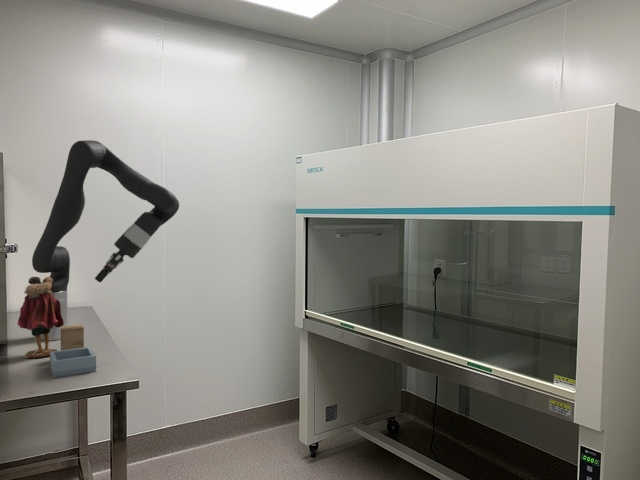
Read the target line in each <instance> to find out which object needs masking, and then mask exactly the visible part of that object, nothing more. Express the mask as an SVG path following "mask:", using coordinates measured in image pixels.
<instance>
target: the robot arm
mask: <svg viewBox="0 0 640 480" xmlns="http://www.w3.org/2000/svg"><path fill="white" fill-rule="evenodd" d="M96 168H98V169H101V170H104V171H105V172H107V173H109V174H110V175H112V176H113V177H114V178H115V179H116V180H117V181H118V182H119V184H120V185H121V186H122V187H123V188H124V189H125V190H126V191H128V192H130V193H131V194H133V195H134V196H136V197H137V198H138V199H140V200H143V201H146V202H148V203H150V204H151V205H152V206H154V207H153V208H152V209H151V210H149V211H144V212H143V213H141V215H139V217H137V219H136V220H135V221H134V222H133V223H132V224H131V225H130V226H129V227H128V228H126V230H125V231H124V232H123V233H122V234H121V235H120V237H118V239H117V240H116V241H115V242H114V244H113V246H115V247H116V248H117V249H118V250H117V251H115V252H113V253H111V255H110V257H109V258H108V260H107V261H105V264H104V266H102V269H101V270H100V271H99V272H98V274H96V276H95V277H94V280H96V281H97V282H98V283H101V282H103V280H105V278H106V277H107V276H108V275H109V274H111V273H112V272H113V271H114V270H116V269H117V268H118V267H119V265H121V264H122V263H123V262H124V261H125V260H124V257H125V256H127V257H129V258H130V259H134V258H135V257H136V256H137V255H138V254H139V253H140V251H142V249H143V248H144V246H145V245H146V244H147V243H148V242H149V240H150V239H151V238H152V237H153V235H154V234H155V233H156V232H157V231H158V230H159V228H160V227H161V226H163V225H164V224H166V223H167V222H168V221H169V220H170V219H172V218H173V217H174V216H175V215H176V214H177V212H178V210H179V209H180V202H179V200H178V198H177V197H176V195H175V194H174V193H173V192H172V191H170V190H169V189H167V188H165V187H164V186H162V185H160V184H157V183H155V182H154V181H152V180H151V179H149V178H148V177H146V176H145V175H143V174H141V173H140V172H139V171H137V170H135V169H133V168H132V167H131V166H129V165H128V164H126V163H125V162H124V161H123V160H122V159H120V158H119V157H118V156H117V155H116V154H115V153H113V152H112V151H111V150H110V149H109V148H108V147H107V146H106V145H104V144H103V143H101V142H100V141H97V140H92V139H91V140H89V139H88V140H87V139H86V140H78V141H75V142H74V143H73V144H72V145H71V147H70V149H69V152H68V155H67V160H66V163H65V168H64V172H63V177H62V180H61V181H60V182H61V183H60V186H59V188H58V192H57V195H56V197H55V199H54V203H53V205H52V207H51V212H50V215H49V218H48V221H47V222H46V225H45V228H44V230H43V233H42V234H41V237H40V239H39V241H38V243H37V245H36V247H35V249H34V251H33V255H32V257H31V259H32V260H31V265H32V268H33V270H34V271H35V272H37V273H40V274H46V273H50V276H48V277H51V278H52V279H53V282H52V287H51V289H50V290H49V291H52V292H51V294H52V296H53V297H54V298H55V299H57V300H59V302H60V305H61V315H62V318H63V321H64V325H63V326H61V327H64V326H69V325H68V323H69V322H68V321H69V320H68V318H69V316H68V286H69V283H70V266H71V257H70V253H69V251H68V249H67V248H66V247H65V246H59V245H58V244H59V243H60V241H61V240H62V239H63V238H64V237H65V236H66V235H67V234H68V233H69V232H70V231H71V230H72V229H73V228H74V227H75V226H77V224H78V223H79V222H80V220H81V217H82V215H83V211H84V210H85V206H86V197H85V191H84V184H85V180H86V178H87V175H88V173H89V171H90V169H96ZM41 283H43V282H42V281H41ZM61 327H58V328H56V327H55V326H54V327H53V328H52V329H50V332H49V341H56V340H57V341H58V340H61ZM40 336H41V341H44V338H43V334H41V335H40Z"/></svg>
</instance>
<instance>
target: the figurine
mask: <svg viewBox="0 0 640 480" xmlns="http://www.w3.org/2000/svg"><path fill="white" fill-rule="evenodd" d="M41 280H42V281H41ZM41 282H43V283H41ZM52 282H53V279H52V278H51V277H49V276H45V277H44V278H43V279H41V278H40V277H38V276H31V277H30V278H29V279H28V285H27V286H26V287H25V289H24V292H23V293H24V294H25V296H24V300H23V303H22V305H21V306H20V308H19V317H18V320H17V326H18V327H20V329H24V330H28V331H31V335H32V336H33V338H34V340H35V343H36V345H37V349H36V348H35V349H34V350H29V351H27V352H25V354H24V355H23V357H24V358H27V359H30V358H31V359H33V358H43V357H47V356H50V352H53V351H58V349H56V348H49V343H50V340H49V332H50V329H52V328H53V327H54V326H55V327H56V328H58V327H61V326H63V325H64V321H63V318H62V315H61V305H60V302H59V300H57V299H55V298H54V297H53V296H52V294H51V292H52V291H49V290H50V289H51V287H52ZM41 334H43V338H44V340H43V341H44V348H43V346H42V340H41V336H40V335H41Z"/></svg>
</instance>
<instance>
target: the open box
mask: <svg viewBox="0 0 640 480" xmlns="http://www.w3.org/2000/svg"><path fill="white" fill-rule="evenodd" d="M49 368H50V370H51V375H52V377H53V378H59V377H60V378H61V377H66V376H72V375H80V374H87V373H94V372H97V355H96V353H95V352H94V350H93V348H92V346H87V347H84V348H77V349H69V350H61V349H60V350H57V351H53V352H50V355H49Z"/></svg>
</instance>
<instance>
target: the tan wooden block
mask: <svg viewBox="0 0 640 480" xmlns="http://www.w3.org/2000/svg"><path fill="white" fill-rule="evenodd" d="M84 332H85V329H84V326H83V325H82V324H77V325H68V326H64V327H61V339H60V351H61V350H69V349H77V348H85V339H84V338H85V334H84Z"/></svg>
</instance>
